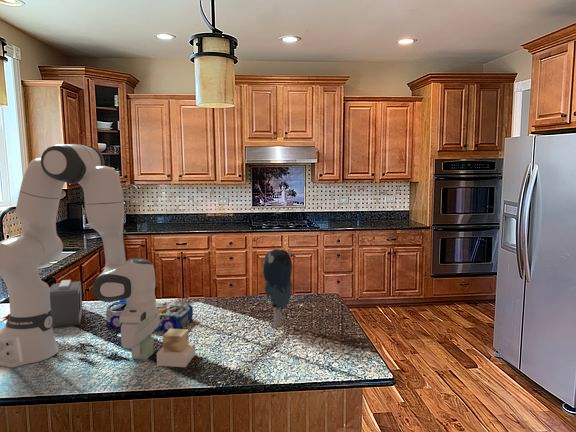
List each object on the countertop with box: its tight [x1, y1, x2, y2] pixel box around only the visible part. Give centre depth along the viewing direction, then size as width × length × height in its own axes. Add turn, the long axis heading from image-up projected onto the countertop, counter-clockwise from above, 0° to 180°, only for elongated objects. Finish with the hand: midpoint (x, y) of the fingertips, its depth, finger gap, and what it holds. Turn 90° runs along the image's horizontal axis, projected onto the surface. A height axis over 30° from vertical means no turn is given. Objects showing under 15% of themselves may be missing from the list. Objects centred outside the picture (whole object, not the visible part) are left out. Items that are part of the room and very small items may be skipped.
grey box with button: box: [49, 279, 83, 328], centre depth 168 cm, size 16×11×16 cm
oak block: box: [162, 328, 190, 352], centre depth 134 cm, size 6×6×5 cm
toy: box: [262, 248, 293, 329], centre depth 163 cm, size 14×11×30 cm
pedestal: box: [156, 342, 196, 368], centre depth 135 cm, size 9×9×4 cm
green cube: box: [131, 337, 155, 360], centre depth 138 cm, size 5×5×5 cm
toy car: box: [105, 299, 194, 333], centre depth 167 cm, size 16×30×10 cm, turn 80°
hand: (142, 350), depth 138 cm, fingers closed on green cube, 5 cm apart
